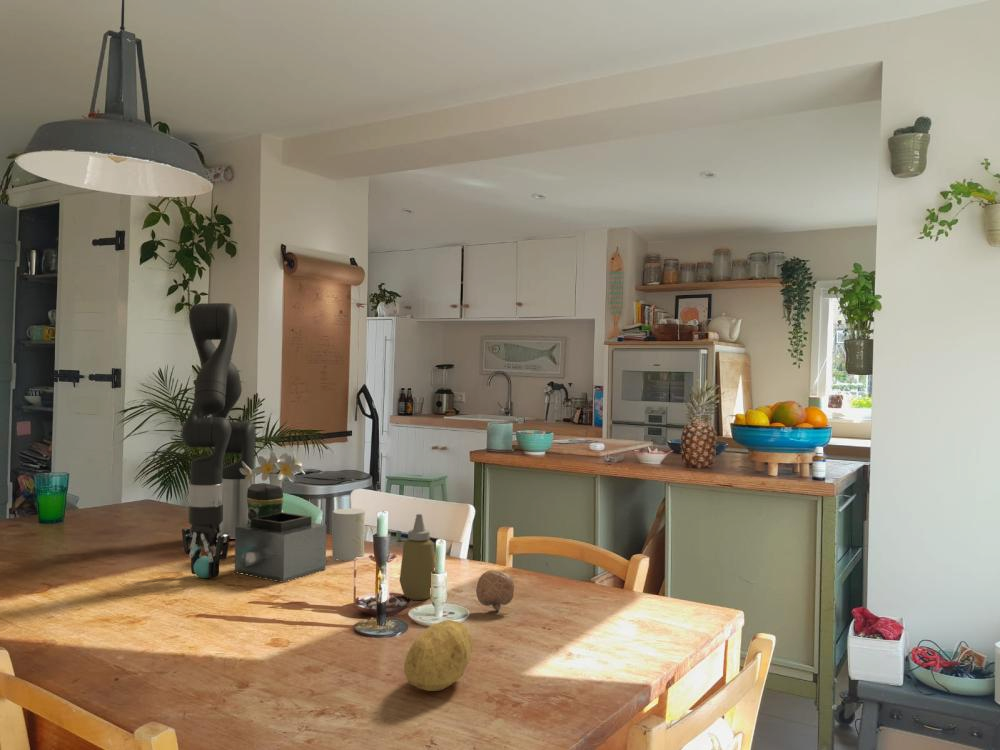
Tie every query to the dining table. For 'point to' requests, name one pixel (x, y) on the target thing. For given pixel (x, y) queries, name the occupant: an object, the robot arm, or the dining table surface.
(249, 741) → the dining table surface
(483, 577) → the mushroom
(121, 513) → the dining table surface
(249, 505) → the coffee jar
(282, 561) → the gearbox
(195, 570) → the teal ball
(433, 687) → the potato
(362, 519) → the grey cylinder
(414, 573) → the squeeze bottle
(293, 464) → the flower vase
